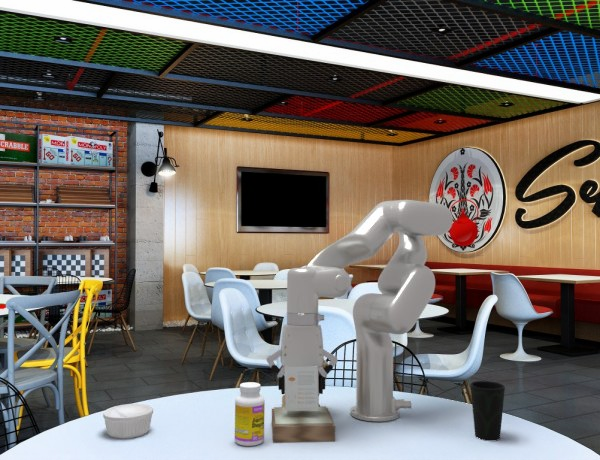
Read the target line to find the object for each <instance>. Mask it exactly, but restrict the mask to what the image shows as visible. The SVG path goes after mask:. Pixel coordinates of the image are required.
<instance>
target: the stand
mask: <svg viewBox="0 0 600 460" xmlns="http://www.w3.org/2000/svg"><path fill="white" fill-rule="evenodd" d="M271 430H272V431H271V434H272V443H306V442H307V443H308V442H309V443H314V442H315V443H317V442H335V441H336V425H335V422H334V420H333V418H332V416H331V412H330V410H329V408H328V407H327V406H326V405H325V406H323V405H322V406H321V405H320V407H319V410H318V411H285V407H283V406H275V407H273V408H271Z"/></svg>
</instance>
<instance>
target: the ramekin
mask: <svg viewBox="0 0 600 460" xmlns="http://www.w3.org/2000/svg"><path fill="white" fill-rule="evenodd" d="M153 414H154V408H153V406H151V405H148V404H145V403H126V404H120V405H119V404H118V405H115V406H112V407H109V408H107V409H106V410H104V412H103V413H102V415H103V419H104V424H105V429H106V433H107V434H108V436H109V437H111V438H113V437H114V439H123V440H125V439H133V438H137V437H140V436H143V435H145V434H146V433H148V431H149V430H150V428H151V422H152V416H153Z"/></svg>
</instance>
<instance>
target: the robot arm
mask: <svg viewBox="0 0 600 460" xmlns="http://www.w3.org/2000/svg"><path fill="white" fill-rule="evenodd" d="M452 227H453V214H452V212H451V210H450V209H449V208H448V207H447V206H446V205H445V204H442V203H439V202H438V203H436V202H428V201H422V200H421V201H420V200H414V199H399V200H396V199H395V200H386V201H385V200H384V201H382V202H379V203H378V204H376V205H375V206H374V207H373V208H372V209H371V211H369V213H367V214H366V216H365V217H364V218H363V219H362V220H361V221H360V222H359V223H358V224H357V225H356V226H355V227H354V228H353V229H352V231H350V232H349V233H348V234H347V235H345V236H343V237H341V238H340V239H338V240H336V241H335V242H333V243H332V244H330V245H328V246H326V247H325V248H324V249H321V250H320V252H319V253H317V254H316V255H315V256H314V257H313V258H312V259H311V261H310V262H308V264H307V265H306V266H305V267H294V268H293V267H292V268H290V269H289V270H288V271H287V277H286V281H287V282H286V286H287V287H286V324H283V327H282V332H281V338H280V339H281V341H280V342H281V343H280V349H278V350H277V351H276V352H274V353H272V354H271V355H269V356H267V357H266V362H267V364H268V365H269V368H270V369H271V370H272V371H273V372H274V373H275V374H276V375H277V377H278V387H277V388H278V390H279V391H280V393H281V395H285V370H284V367H285V366H318V371H319V372H320V374H319V377H318V381H319V393H320V394H319V395H323V394H324V393H323V391H324V390H326V380H325V377H326V376H327V377H328V375H329V373H330V372H331V371H332V370H333V368H335V367H334V366H335V365H336V364H337V362H338V360H339V359H338V358H337V356H335V355H334V354H333V353H331V352H330V351H327V350H325V349H324V338H323V330H322V326H321V324H319V323H320V322H321V321H325V315H324V314H321V313H319V298H321V297H322V298H330V299H339V298H341V297H344V296H345V295H347V293H348V292H350V289H351V286H352V279H351V276H350V275H349V273H348V272H347V271H346V270H344V268H346V267H348V266H351V265H353V264H358V263H361V262H363V261H367V260H369V259H371V258H373V257H374V256H375V255H376V254H377V253H378V252H379V251H380V249H381V248H382V247H383V246H384V245H385V244H386V243H387V241H388V240H390V238H392V237H393V235H394V234H395V233H398V239H399V240H398V241H399V242H398V243H399V244H398V246H397V249H396V250H395V252H394V254H393V255H392V257H391V259H390V260H389V261H388V262H387V264H386V266H385V267H384V268H383V269H382V271H381V273H380V275H379V277H378V279H377V288H378V290H379V292H380V293H373V292H372V293H365V294H363V295H360V296H359V297H357V299H356V300H355V302H354V304H353V308H352V319H353V324H354V329H355V339H356V362H355V363H356V369H355V370H356V371H355V372H356V378H355V379H356V380H355V381H356V382H355V383H356V385H355V387H356V389H355V390H356V391H355V394H356V397H355V399H356V400H355V402H356V403H355V405H353V406H352V407H351V408H350V409H349V410H350V411H349V412H350V415H351V416H352V417H353V418H355V419H357V420H361V421H365V422H376V423H377V422H378V423H381V422H389V421H394V420H397V418H398V417H400V411H399V410H400V409H412V402H411V400H404V398H403V399H401V398H399V399H396V398H395V397H394V345H393V340H392V337H391V334H392V335H404V334H406V333H408V332H410V331H411V329H413V327H414V326H415V325H416V323H417V321H418V320H419V319H420V317H421V315H422V313H423V312H424V311H425V308H426V307H427V305H428V304H429V303H430V300H431V299H432V297H433V295H434V292H435V290H436V289H435V288H436V278H435V274H434V272H433V271H432V270H431V269H430V267H428V266H426V265H425V264H426V262H427V260H428V251H427V248H426V244H425V240H424V236H427V237H428V236H429V237H430V236H433V237H434V236H435V237H437V236H443V235H445V234H447V233H448V232H449V231H450V229H451V228H452ZM324 357H325V358H326V359H328V360H329V362H328V365H327V366H326V367H325V368H323V367H322V366H323V362H324V360H325V359H324ZM278 358H280V363H281V366H280V367H279V366H277V365H276V363H275V360H276V359H278ZM327 377H326V378H327Z"/></svg>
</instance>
